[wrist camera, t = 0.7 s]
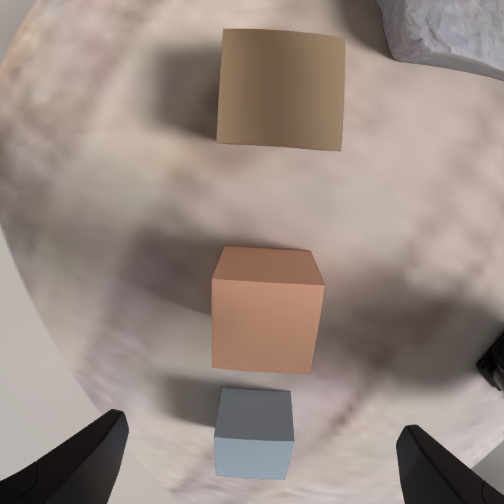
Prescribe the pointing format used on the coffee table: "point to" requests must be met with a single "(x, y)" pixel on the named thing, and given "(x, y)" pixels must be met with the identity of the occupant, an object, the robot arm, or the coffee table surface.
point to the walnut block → (281, 89)
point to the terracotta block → (265, 310)
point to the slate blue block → (253, 434)
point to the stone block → (447, 34)
